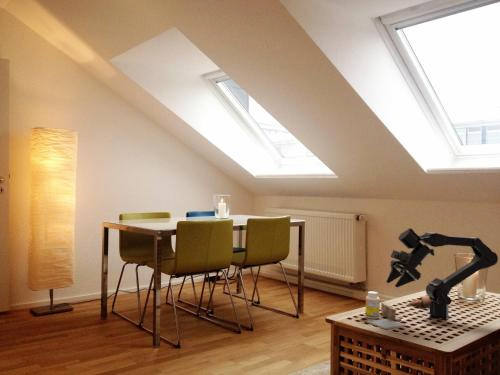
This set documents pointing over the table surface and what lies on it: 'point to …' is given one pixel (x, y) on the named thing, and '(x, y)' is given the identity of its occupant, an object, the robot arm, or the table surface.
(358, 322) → the table surface
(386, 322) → the slate grey mat
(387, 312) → the brown wooden block
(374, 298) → the supplement bottle
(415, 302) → the sunglasses case
